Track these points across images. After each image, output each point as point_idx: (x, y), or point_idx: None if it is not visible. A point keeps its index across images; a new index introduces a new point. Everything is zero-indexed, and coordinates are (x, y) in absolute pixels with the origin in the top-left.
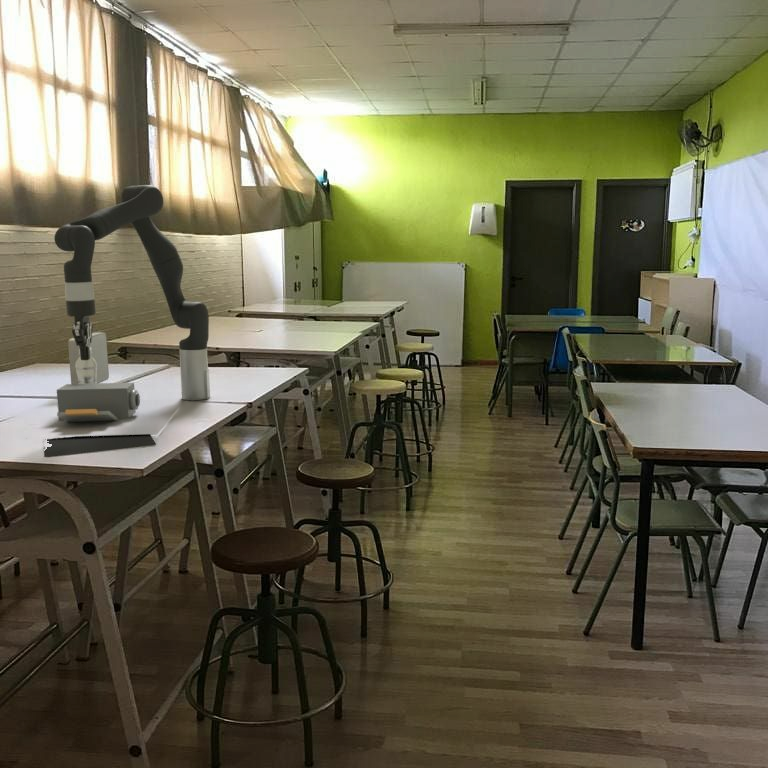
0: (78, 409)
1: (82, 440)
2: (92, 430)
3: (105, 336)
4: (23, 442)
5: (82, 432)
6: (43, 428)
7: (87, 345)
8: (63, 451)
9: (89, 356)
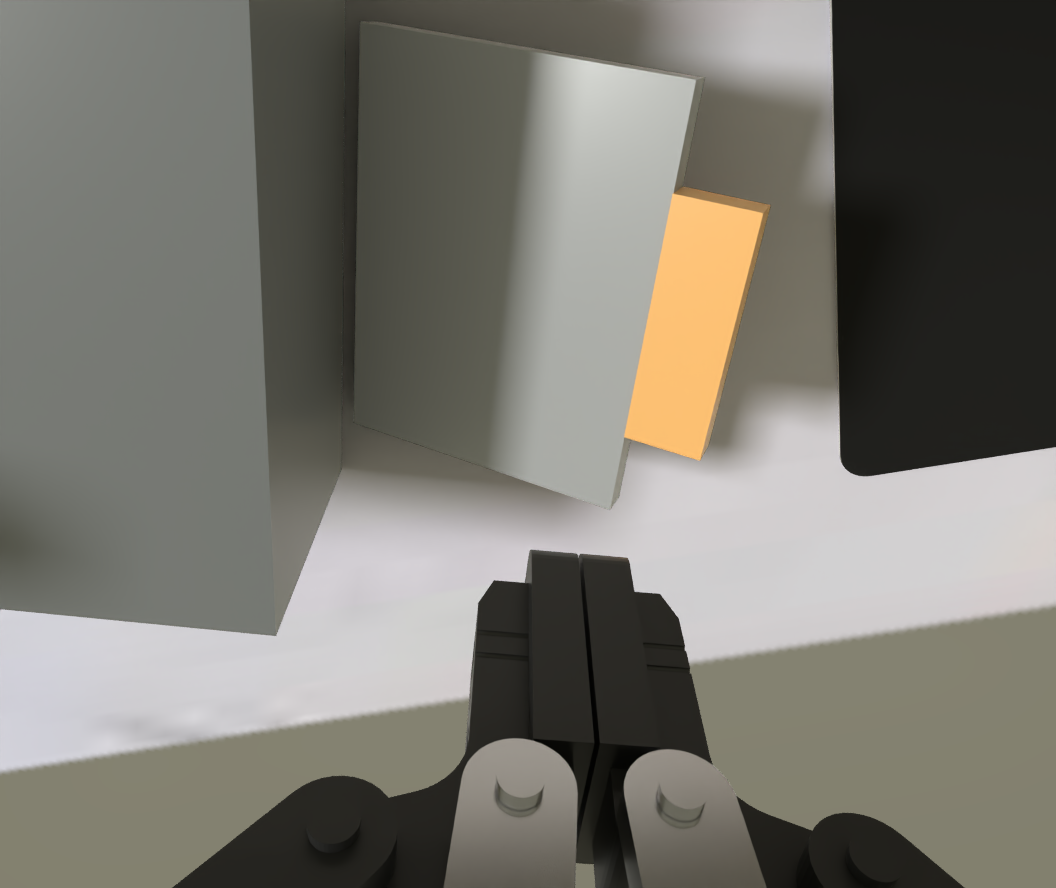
0: (726, 362)
1: (1007, 231)
2: None
3: None
4: (861, 567)
5: None
6: (491, 531)
7: (716, 787)
8: None
9: (568, 578)
